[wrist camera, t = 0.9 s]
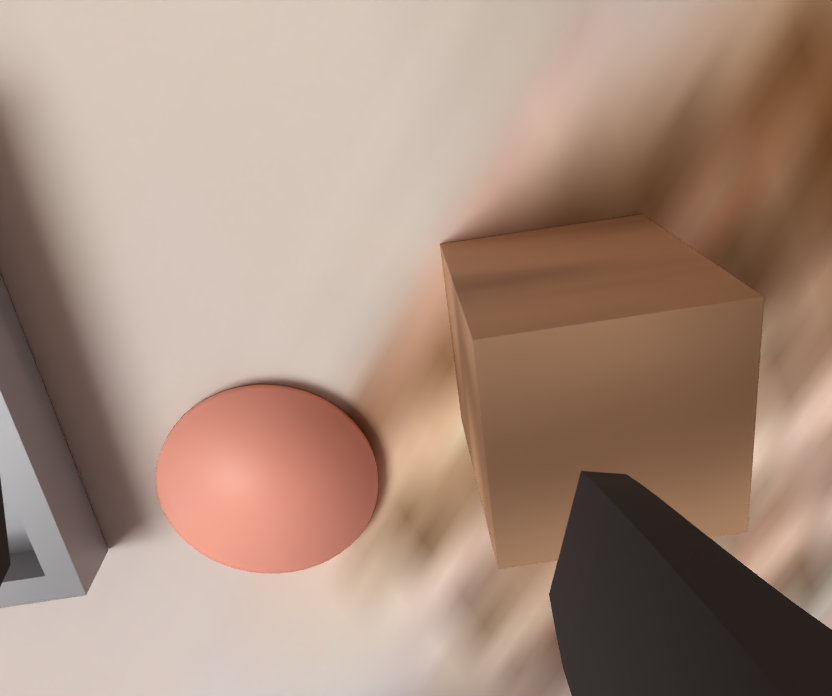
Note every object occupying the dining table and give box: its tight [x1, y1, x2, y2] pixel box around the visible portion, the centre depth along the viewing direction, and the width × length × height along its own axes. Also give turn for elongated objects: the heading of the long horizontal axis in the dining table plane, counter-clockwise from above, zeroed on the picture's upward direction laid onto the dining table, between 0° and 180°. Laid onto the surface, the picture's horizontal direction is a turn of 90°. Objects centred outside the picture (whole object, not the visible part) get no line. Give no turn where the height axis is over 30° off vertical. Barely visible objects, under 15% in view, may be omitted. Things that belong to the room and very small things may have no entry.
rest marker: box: [156, 384, 378, 573], centre depth 20 cm, size 6×6×1 cm
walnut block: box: [440, 214, 764, 569], centre depth 16 cm, size 5×5×6 cm
